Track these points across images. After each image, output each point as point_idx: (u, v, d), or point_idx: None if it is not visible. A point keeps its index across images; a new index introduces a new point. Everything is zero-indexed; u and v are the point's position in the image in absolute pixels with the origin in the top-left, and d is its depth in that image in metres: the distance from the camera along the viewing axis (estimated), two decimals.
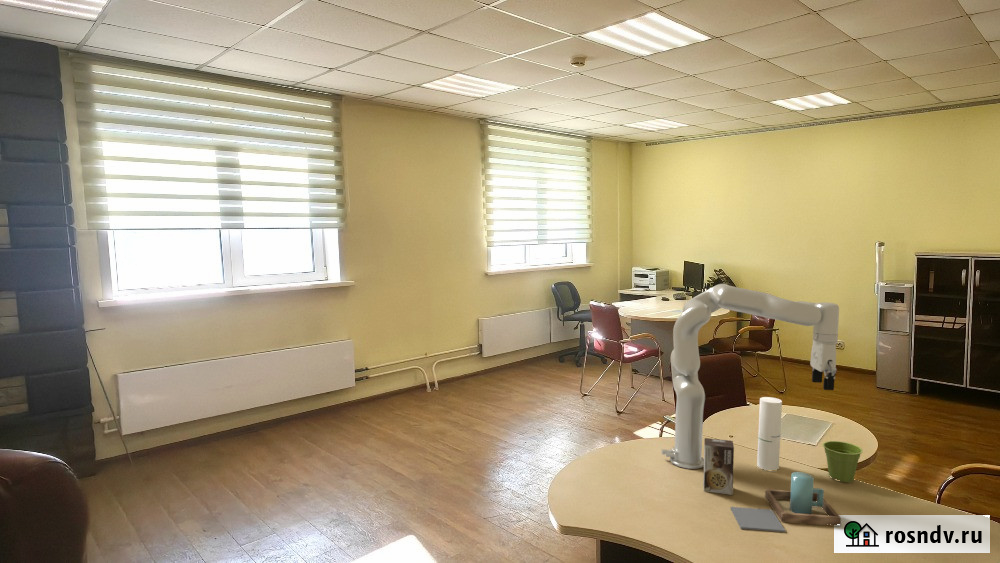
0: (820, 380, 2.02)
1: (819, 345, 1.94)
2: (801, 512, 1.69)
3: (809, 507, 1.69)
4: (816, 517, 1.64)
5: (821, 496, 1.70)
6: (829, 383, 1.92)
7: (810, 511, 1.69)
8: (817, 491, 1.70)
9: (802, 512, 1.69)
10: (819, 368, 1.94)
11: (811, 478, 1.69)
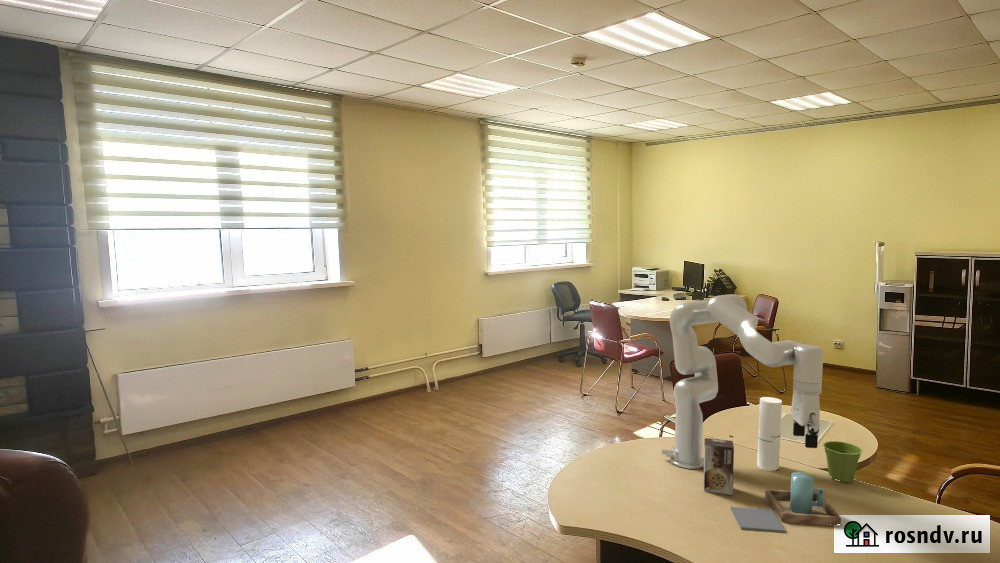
0: (802, 433, 1.74)
1: (800, 394, 1.67)
2: (801, 512, 1.69)
3: (809, 507, 1.69)
4: (816, 517, 1.64)
5: (821, 496, 1.70)
6: (812, 440, 1.64)
7: (810, 511, 1.69)
8: (817, 491, 1.70)
9: (802, 512, 1.69)
10: (800, 422, 1.66)
11: (811, 478, 1.69)
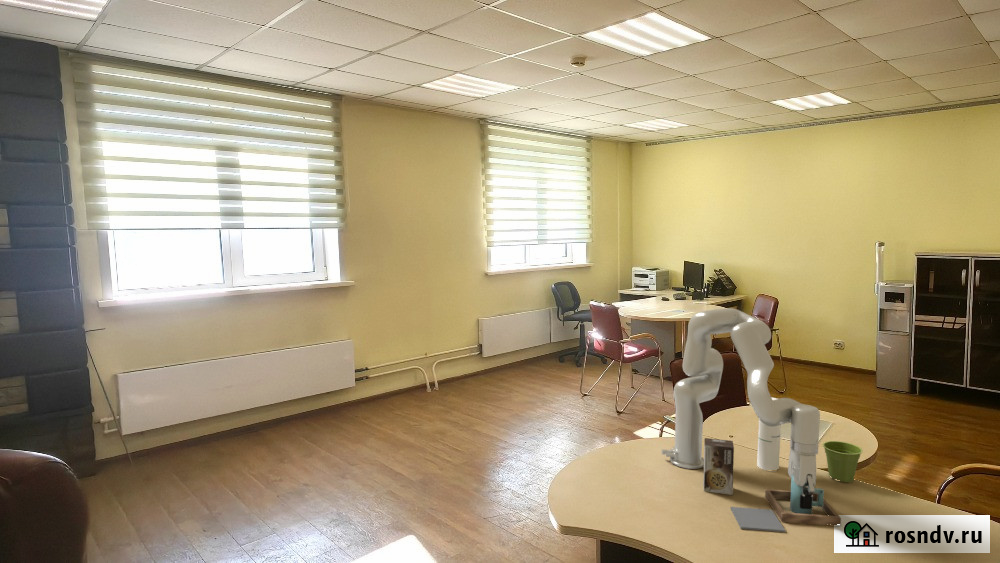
0: None
1: (797, 455, 1.69)
2: (801, 512, 1.69)
3: None
4: (816, 517, 1.64)
5: (821, 496, 1.70)
6: (806, 501, 1.67)
7: (810, 511, 1.69)
8: (817, 491, 1.70)
9: (802, 512, 1.69)
10: (797, 482, 1.68)
11: None
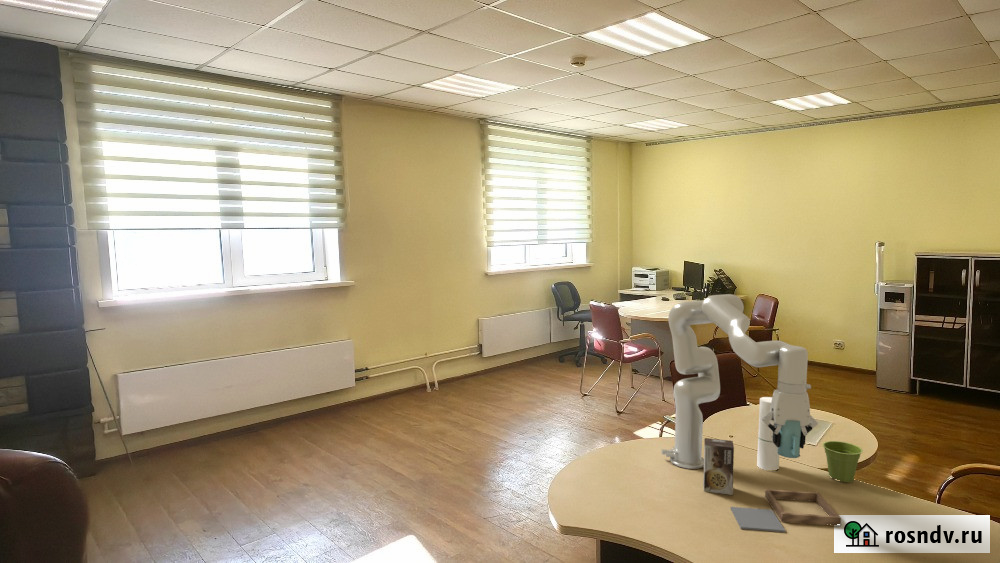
0: (800, 445, 1.67)
1: None
2: (777, 449, 1.69)
3: (781, 447, 1.67)
4: (816, 517, 1.64)
5: (794, 444, 1.63)
6: (773, 437, 1.69)
7: (782, 452, 1.67)
8: (792, 437, 1.64)
9: (777, 449, 1.69)
10: None
11: None
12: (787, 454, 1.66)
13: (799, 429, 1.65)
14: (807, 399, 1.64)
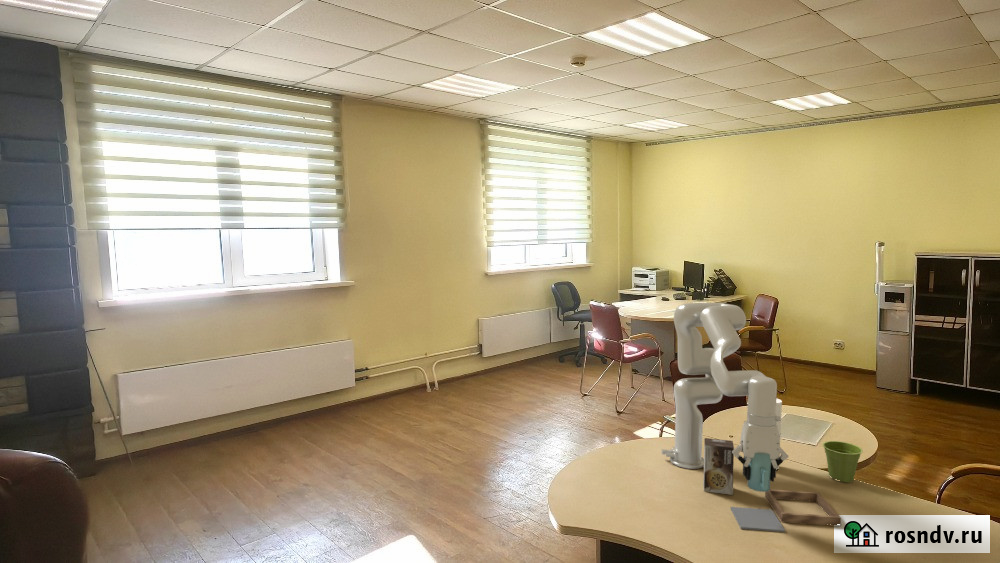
0: (770, 478, 1.64)
1: None
2: None
3: (751, 480, 1.64)
4: (816, 517, 1.64)
5: (762, 477, 1.59)
6: (743, 469, 1.66)
7: (752, 485, 1.64)
8: (761, 470, 1.61)
9: None
10: None
11: None
12: (757, 487, 1.63)
13: (769, 462, 1.62)
14: (776, 431, 1.61)
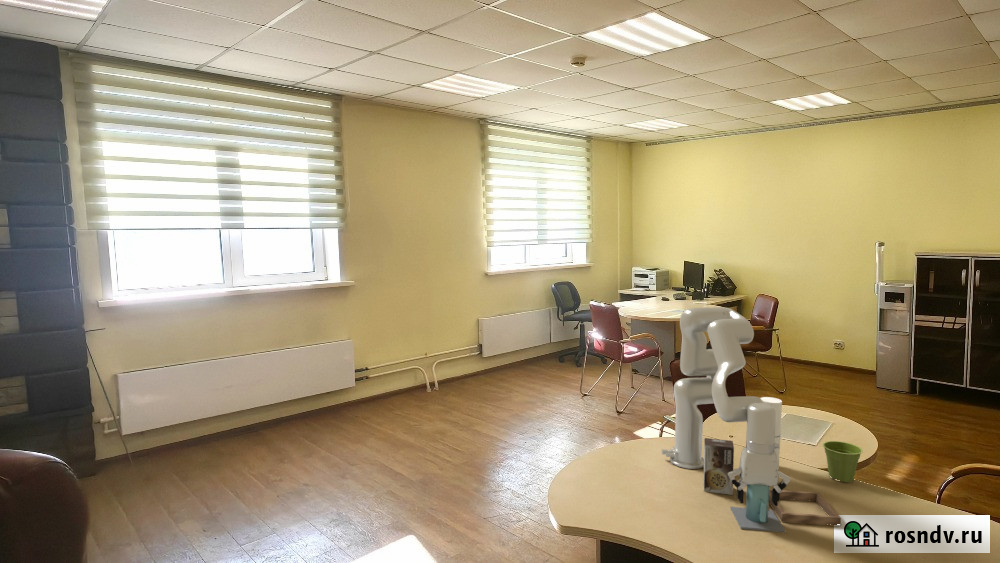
0: (774, 502, 1.64)
1: None
2: None
3: (749, 511, 1.65)
4: (816, 517, 1.64)
5: (760, 509, 1.61)
6: (737, 492, 1.67)
7: (750, 517, 1.65)
8: (759, 502, 1.62)
9: None
10: None
11: (755, 485, 1.64)
12: (755, 519, 1.64)
13: (767, 494, 1.63)
14: (775, 459, 1.62)
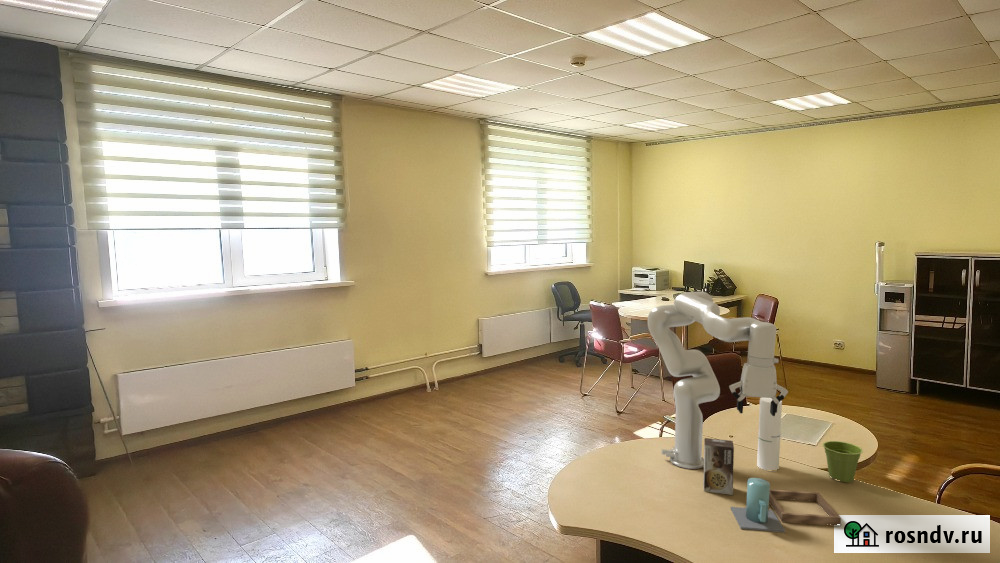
0: (772, 413, 1.77)
1: None
2: None
3: (749, 511, 1.65)
4: (816, 517, 1.64)
5: (760, 509, 1.61)
6: (737, 404, 1.80)
7: (750, 517, 1.65)
8: (760, 502, 1.62)
9: None
10: None
11: (756, 485, 1.63)
12: (755, 519, 1.64)
13: (767, 494, 1.63)
14: (774, 372, 1.75)
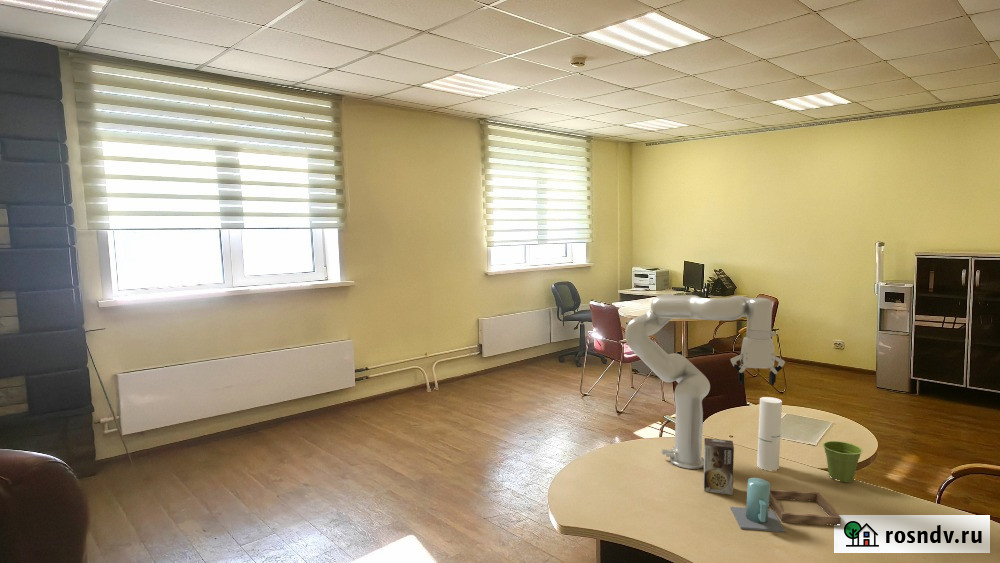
0: (771, 383, 1.90)
1: None
2: None
3: (749, 511, 1.65)
4: (816, 517, 1.64)
5: (760, 509, 1.61)
6: (738, 376, 1.93)
7: (750, 516, 1.65)
8: (759, 502, 1.62)
9: None
10: None
11: (756, 485, 1.63)
12: (755, 519, 1.64)
13: (767, 494, 1.63)
14: (772, 344, 1.88)
